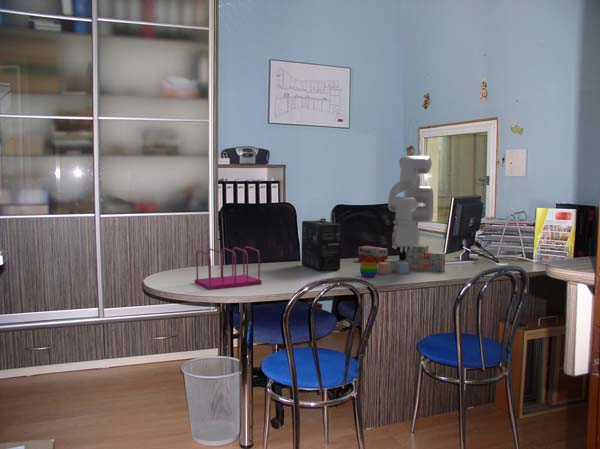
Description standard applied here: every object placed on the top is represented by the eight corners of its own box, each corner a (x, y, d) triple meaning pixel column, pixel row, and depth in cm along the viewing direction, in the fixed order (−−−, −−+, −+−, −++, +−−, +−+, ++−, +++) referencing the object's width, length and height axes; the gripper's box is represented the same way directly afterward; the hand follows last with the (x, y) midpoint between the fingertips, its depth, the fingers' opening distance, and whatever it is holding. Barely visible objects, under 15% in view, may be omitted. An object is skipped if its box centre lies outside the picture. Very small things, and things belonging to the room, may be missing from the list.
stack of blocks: (445, 270, 278) (445, 246, 277) (441, 272, 272) (442, 248, 271) (405, 266, 289) (406, 243, 288) (401, 268, 284) (401, 245, 283)
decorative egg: (358, 278, 254) (358, 257, 253) (361, 275, 262) (361, 255, 261) (376, 279, 252) (376, 258, 251) (378, 276, 260) (378, 255, 259)
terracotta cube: (377, 272, 268) (377, 262, 268) (387, 271, 269) (387, 262, 269) (381, 274, 263) (381, 264, 263) (391, 273, 264) (391, 263, 264)
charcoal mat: (367, 270, 277) (367, 269, 277) (397, 268, 281) (397, 268, 281) (378, 275, 261) (378, 274, 261) (411, 274, 265) (411, 273, 265)
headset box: (341, 270, 276) (341, 219, 274) (320, 272, 271) (320, 220, 268) (320, 263, 296) (320, 216, 294) (300, 265, 291) (300, 217, 288)
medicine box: (387, 262, 303) (388, 248, 302) (378, 264, 297) (378, 249, 297) (366, 259, 314) (367, 245, 313) (357, 260, 308) (357, 246, 308)
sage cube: (384, 269, 277) (384, 259, 277) (393, 268, 279) (393, 259, 278) (388, 270, 273) (388, 261, 272) (397, 270, 274) (397, 260, 273)
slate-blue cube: (395, 272, 269) (395, 262, 269) (404, 271, 270) (404, 261, 270) (399, 273, 264) (399, 263, 264) (409, 273, 266) (409, 263, 265)
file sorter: (262, 284, 239) (261, 249, 238) (208, 290, 227) (208, 253, 225) (245, 278, 254) (245, 245, 253) (194, 283, 241) (193, 248, 240)
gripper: (392, 223, 260) (391, 261, 261) (420, 223, 263) (419, 260, 265) (386, 222, 267) (385, 259, 268) (413, 222, 271) (412, 258, 272)
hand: (402, 260), depth 267 cm, fingers closed
